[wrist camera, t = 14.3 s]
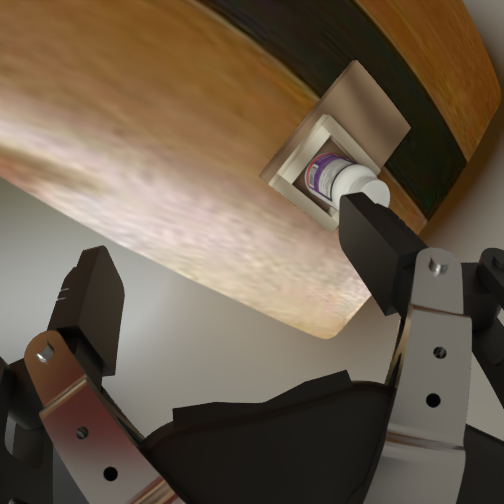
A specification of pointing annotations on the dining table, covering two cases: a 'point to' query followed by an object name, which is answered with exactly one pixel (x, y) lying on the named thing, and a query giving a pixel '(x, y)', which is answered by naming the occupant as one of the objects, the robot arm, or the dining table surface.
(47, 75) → the dining table surface
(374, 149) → the socket board
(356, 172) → the pill bottle
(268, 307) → the dining table surface
